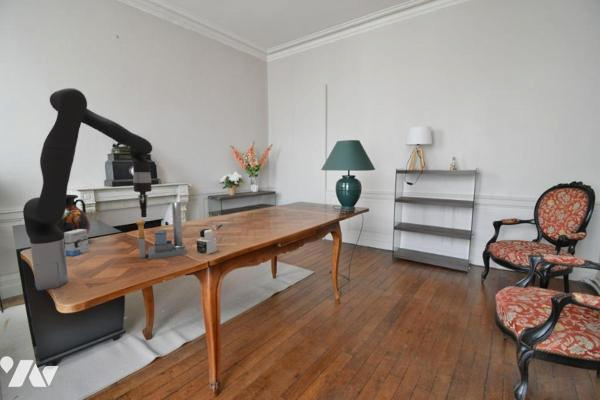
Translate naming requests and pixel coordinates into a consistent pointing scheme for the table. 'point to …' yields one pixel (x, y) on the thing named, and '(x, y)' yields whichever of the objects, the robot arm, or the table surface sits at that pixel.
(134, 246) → the table surface
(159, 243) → the blue-grey rectangular block
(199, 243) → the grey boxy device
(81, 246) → the ink box
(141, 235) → the wedge pin
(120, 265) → the table surface
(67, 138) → the robot arm
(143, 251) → the grey base with post
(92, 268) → the table surface
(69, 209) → the amphora vase
